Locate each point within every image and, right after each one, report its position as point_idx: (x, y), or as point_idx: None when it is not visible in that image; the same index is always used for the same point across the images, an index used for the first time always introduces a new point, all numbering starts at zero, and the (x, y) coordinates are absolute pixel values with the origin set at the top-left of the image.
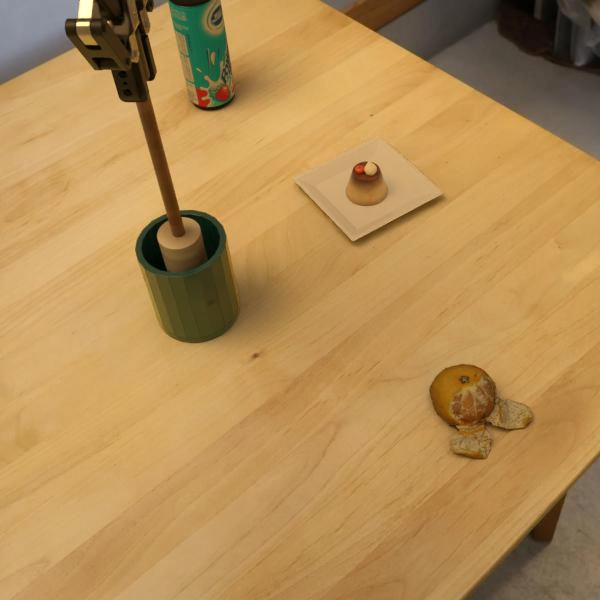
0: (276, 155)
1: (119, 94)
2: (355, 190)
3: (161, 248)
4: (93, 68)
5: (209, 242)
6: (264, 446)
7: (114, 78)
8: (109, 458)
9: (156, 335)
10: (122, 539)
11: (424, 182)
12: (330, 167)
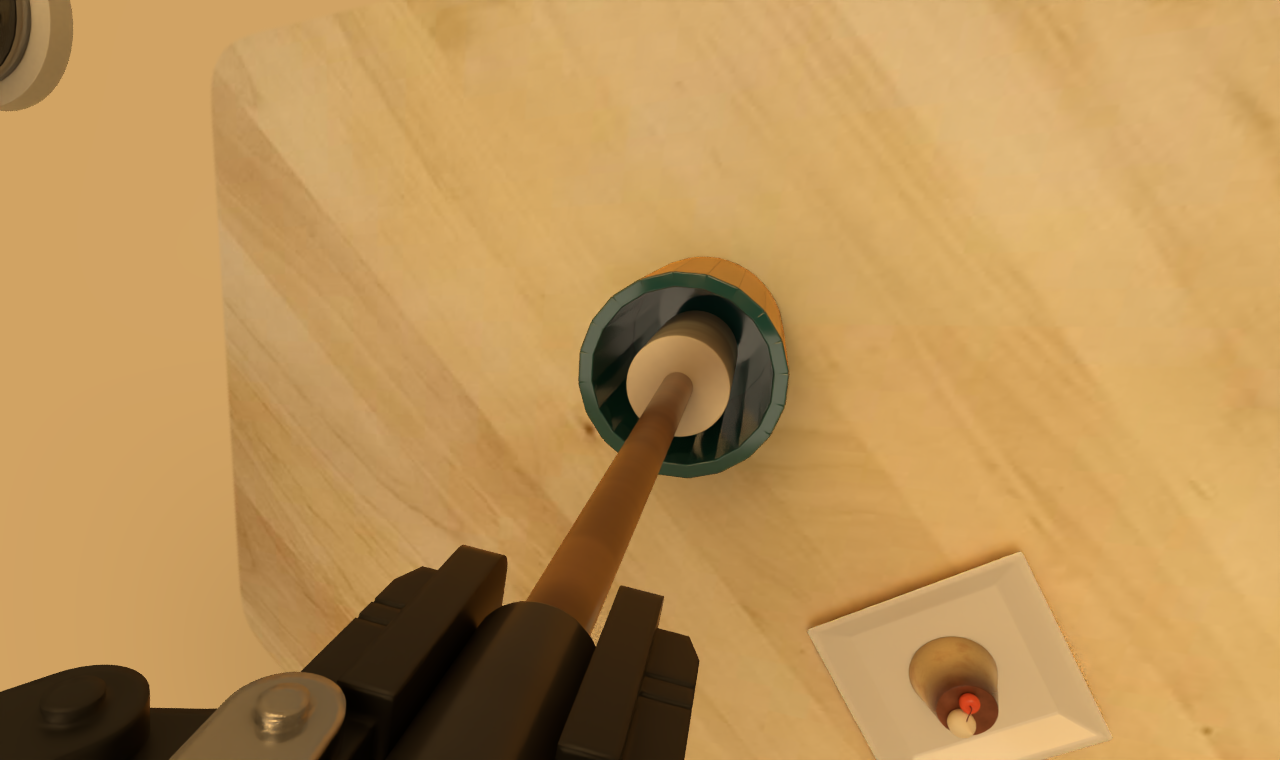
0: (1130, 520)
1: (391, 584)
2: (936, 666)
3: (652, 339)
4: (37, 681)
5: (755, 408)
6: (426, 428)
7: (401, 612)
8: (413, 185)
9: (652, 255)
10: (289, 217)
11: None
12: (1038, 627)
